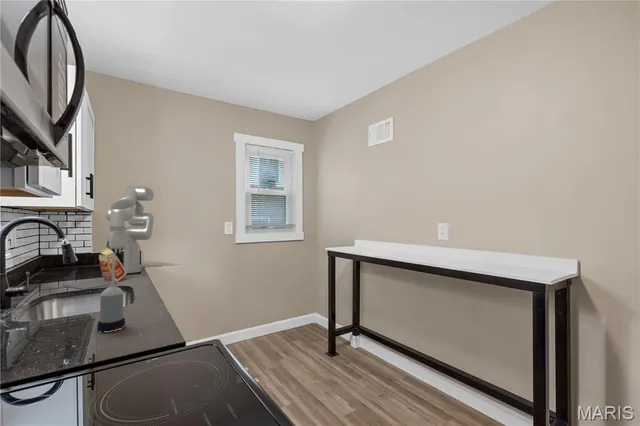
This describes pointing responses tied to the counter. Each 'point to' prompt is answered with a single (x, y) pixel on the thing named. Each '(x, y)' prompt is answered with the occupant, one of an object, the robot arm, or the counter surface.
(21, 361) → the counter surface
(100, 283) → the mat
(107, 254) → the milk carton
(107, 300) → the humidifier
